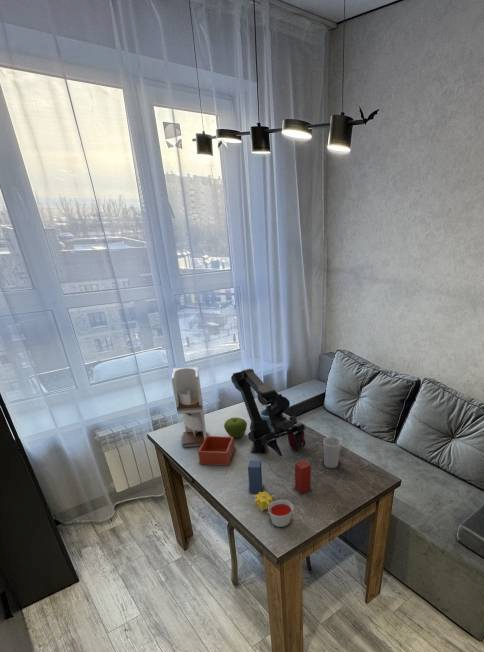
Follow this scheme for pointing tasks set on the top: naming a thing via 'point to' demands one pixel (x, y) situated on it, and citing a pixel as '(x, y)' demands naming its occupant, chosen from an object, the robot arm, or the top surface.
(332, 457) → the cup
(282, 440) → the top surface
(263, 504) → the toy block
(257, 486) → the blue block
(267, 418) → the mug
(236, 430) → the apple
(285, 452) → the top surface
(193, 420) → the arched white lantern
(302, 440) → the mug
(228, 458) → the red bin
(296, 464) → the red block
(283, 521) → the candle
